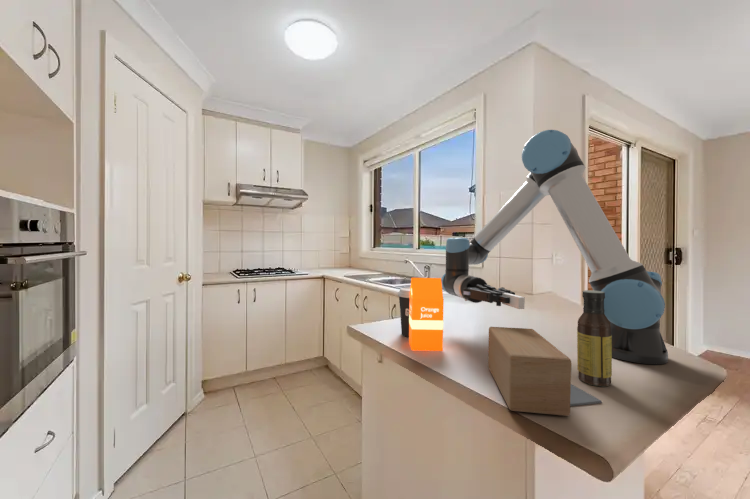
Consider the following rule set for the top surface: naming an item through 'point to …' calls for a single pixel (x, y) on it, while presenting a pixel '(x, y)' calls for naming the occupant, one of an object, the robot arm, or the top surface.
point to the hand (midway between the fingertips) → (521, 303)
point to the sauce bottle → (594, 341)
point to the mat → (581, 397)
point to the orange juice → (426, 314)
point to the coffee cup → (404, 310)
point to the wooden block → (529, 371)
